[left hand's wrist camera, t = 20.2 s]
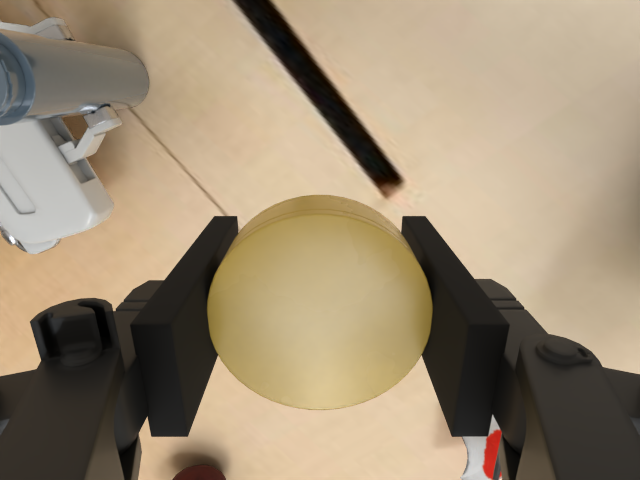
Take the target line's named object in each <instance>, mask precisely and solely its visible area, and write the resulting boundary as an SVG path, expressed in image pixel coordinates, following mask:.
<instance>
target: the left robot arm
mask: <svg viewBox="0 0 640 480" xmlns="http://www.w3.org/2000/svg"><path fill="white" fill-rule="evenodd" d="M401 234H402V235H403V236H404V238H405V239H406V241H407V242H408V244H409V246H410V248H411V250H412V251H413V253H414V255H415V257H416V259H417V261H418V262H419V264H420V266H421V268H422V270H423V272H424V274H425V276H426V278H427V281H428V284H429V287H430V290H431V295H432V302H433V312H432V321H431V330H430V335H429V339H428V342H427V344H426V347H425V349H424V351H423V353H422V357H423V360H424V363H425V365H426V368H427V371H428V373H429V376H430V379H431V381H432V384H433V387H434V389H435V392H436V395H437V398H438V400H439V403H440V406H441V408H442V411H443V414H444V416H445V419H446V422H447V424H448V427H449V430H450V433H451V435H452V437H488V435H489V430H490V425H491V420H492V415H493V416H494V418H495V420H496V422H497V424H498V426H499V428H500V430H501V432H502V433H501V438H500V443H499V448H498V453H497V457H496V462H495V467H494V473H493V480H499V476H500V472H501V474H502V480H640V374H634V373H629V372H624V371H619V370H614V369H608V368H604V367H602V365H601V363H600V361H599V360H598V359H597V358H596V356H595V355H594V354H593V353H592V352H591V351H590V350H588V349H587V348H585V347H584V346H582V345H581V344H579V343H576V342H574V341H572V340H569V339H567V338H564V337H560V336H555V335H551V334H548V333H547V332H546V331H545V330H544V329H543V328H542V327H541V325H540V324H539V323H538V322H537V321H536V320H535V319H534V318H533V317H532V316H531V314H530V313H529V312H528V311H527V310H524V307H523V306H522V304H521V303H520V302H519V301H516V298H515V297H514V296H513V294H512V293H511V292H510V291H509V290H508V289H507V288H506V287H504V286H502V285H500V284H499V283H497V282H495V281H493V280H492V279H474V278H473V277H472V275H471V274H470V273H469V272H468V270H467V269H466V268H465V266H464V265H463V264H462V263H461V261H460V260H459V259H458V258H457V256H456V255H455V254H454V252H453V251H452V250H451V249H450V247H449V246H448V245H447V243H446V242H445V241H444V240H443V238H442V237H441V236H440V234H439V233H438V232H437V231H436V229H435V228H434V227H433V225H432V224H431V223H430V222H429V220H428V219H427V218H426V217H425V216H403V218H402V231H401ZM237 235H238V221H237V216H214V217H213V219H212V220H211V221H210V223H209V224H208V225H207V226H206V228H205V229H204V230H203V232H202V233H201V234H200V235H199V237H198V238H197V239H196V240H195V242H194V243H193V244H192V246H191V247H190V248H189V249H188V251H187V252H186V253H185V255H184V256H183V257H182V258H181V260H180V261H179V262H178V264H177V265H176V266H175V267H174V269H173V270H172V271H171V272H170V274H169V275H168V276H167V278H166V279H165V280H149V281H147V282H146V283H144V284H142V285H140V286H139V287H137V288H135V289H133V290H132V291H131V293H130V294H129V295H128V296H127V297H126V298H125V299H124V302H122V303H121V304H120V305H119V306H118V307H117V308H116V311H114V312H113V309H112V304H110V303H109V302H108V301H106V300H102V299H97V298H84V299H77V300H72V301H67V302H63V303H61V304H58V305H55V306H52V307H50V308H48V309H46V310H44V311H42V312H41V313H39V314H37V315H36V316H35V317H34V318H33V319H32V320H31V321H30V324H31V327H32V330H33V334H34V337H35V341H36V344H37V347H38V351H39V354H40V358H41V362H40V364H39V366H38V368H37V369H35V370H31V371H26V372H21V373H16V374H11V375H5V376H0V480H138V475H139V468H140V461H141V453H142V451H141V443H140V438H139V431H140V429H141V427H142V425H143V424H144V422H145V420H146V418H147V416H148V421H149V426H150V431H151V437H188V434H189V432H190V429H191V426H192V424H193V421H194V418H195V416H196V413H197V410H198V408H199V405H200V402H201V400H202V397H203V394H204V391H205V389H206V386H207V383H208V381H209V378H210V375H211V373H212V370H213V367H214V365H215V362H216V359H217V356H218V353H217V352H216V350H215V347H214V345H213V342H212V340H211V337H210V332H209V324H208V315H207V299H208V294H209V290H210V286H211V283H212V281H213V278H214V275H215V273H216V271H217V269H218V268H219V266H220V264H221V262H222V260H223V258H224V257H225V255H226V253H227V251H228V249H229V247H230V246H231V244H232V242H233V240H234V239H235V237H236V236H237Z"/></svg>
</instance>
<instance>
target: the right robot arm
mask: <svg viewBox="0 0 640 480" xmlns="http://www.w3.org/2000/svg"><path fill="white" fill-rule="evenodd" d="M0 29H6V30H12V31H18V32H24V33H30V34H36V35H42V36H48V37H54V38H60V39H66V40H72V41H75V40H74V38H73V36H72V34H71V32H70V30H69V29H68V27H67V25H66V23H65V21H64V20H63V19H60V18H56V17H51V18H47V19H45V20H43V21H41V22H39V23H37V24H35V25H33V26H27V25H19V24H12V23H5V22H2V21H1V19H0ZM83 117H84V119H85V121H86V123H87V124H88V126H89V127H88V128H87V130H86V132H85V133H84V135H83V137H82V138H81V139H77V140H75V139H74V137H73V136H72V134H71V133H70V131H69V129H68V128H67V126H66V125H65V123H64V121H63V120H62V118H55V119H48V120H41V121H34V122H26V123H19V124H12V125H4V126H0V232H1V235H2V237H3V238H4V239H5V240H6V241H7V242H8V243H9V244H10V245H11V246H12V245H16V246H17V247H18V248H20V249H21V250H23V251H25V252H28V253H30V254H38V253H42V252H44V251H47V250H49V249H51V248H54V247H55V246H57V245H58V244H59V242H60V240H61V238H64V237H68V236H72V235H75V234H78V233H81V232H83V231H86V230H89V229H91V228H93V227H95V226H97V225H99V224H100V223H102V222H104V221H105V220H106V219H108V218H109V217H110V215H111V213H112V210H113V208H114V203H113V201H112V199H111V197H110V196H109V194H108V192H107V191H106V189H105V188H104V186H103V184H102V183H101V181H100V180H99V178H98V176H97V175H96V173H95V171H94V170H93V168H92V167H91V165H90V163H89V162H88V160H87V158H86V157H88V156H91V155H93V154H95V153H96V152H97V150H98V148H99V146H100V144H101V142H102V140H103V138H104V137H105V135H106V133H105V132H107V131H109V130H111V129H113V128H115V127H118V126H120V125H121V124H123V123H122V122H121V120H120V118H119V116H118V115H117V113H116V111H115V109H114V108H113V106H109V107H108V106H105V107H102V108H99V109H97V110H96V111H95V112H93V113H89V114H86V115H84V116H83Z"/></svg>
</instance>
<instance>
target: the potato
mask: <svg viewBox="0 0 640 480" xmlns="http://www.w3.org/2000/svg"><path fill="white" fill-rule="evenodd" d="M173 480H226V478H225V476H224V475H223V474H222V472H221V471H219V470H218V469H216V468H215V467H213V466H209V465H196V466H192V467H188V468H186V469H184V470H182V471H181V472H179V473H178V474H177V475H176V476H175V477H174V478H173Z"/></svg>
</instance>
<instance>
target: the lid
mask: <svg viewBox="0 0 640 480" xmlns="http://www.w3.org/2000/svg"><path fill="white" fill-rule="evenodd" d="M432 312H433V302H432V295H431V290H430V287H429V284H428V281H427V278H426V276H425V274H424V272H423V270H422V268H421V266H420V264H419V262H418V261H417V259H416V257H415V255H414V253H413V251H412V250H411V248H410V246H409V244H408V242H407V241H406V239H405V238H404V236H403V235H402V234H401V232H400V231H399V230H398V229H397V228H396V227H395V226H394V224H393V223H392V222H391V221H389V220H388V219H387V218H386V217H384V216H383V215H382V214H381V213H379V212H377V211H376V210H374V209H372V208H371V207H369V206H367V205H364V204H362V203H360V202H357V201H354V200H351V199H347V198H344V197H338V196H331V195H309V196H301V197H296V198H292V199H288V200H285V201H283V202H280V203H277V204H275V205H273V206H271V207H269V208H267V209H266V210H264V211H262V212H261V213H259V214H258V215H257V216H255V217H254V218H252V219H251V220H250V221H249V222H248V223H247V224H246V225H245V226H244V227H243V228H242V229H241V231H240V232H239V233H238V235H237V236H236V237H235V239H234V240H233V242H232V244H231V246H230V247H229V249H228V251H227V253H226V255H225V257H224V258H223V260H222V262H221V264H220V266H219V268H218V269H217V271H216V273H215V275H214V278H213V281H212V283H211V286H210V290H209V294H208V299H207V315H208V324H209V332H210V337H211V340H212V342H213V345H214V347H215V350H216V352H217V353H218V355H219V357H220V359H221V360H222V362H223V363H224V364H225V366H226V367H227V368H228V370H229V371H230V372H231V373H232V374H233V375H234V376H235V377H236V378H237V379H238V380H239V381H240V382H241V383H243V384H244V385H245V386H247V387H248V388H249V389H251V390H252V391H254V392H256V393H257V394H259V395H261V396H263V397H265V398H267V399H269V400H271V401H274V402H277V403H280V404H283V405H286V406H291V407H295V408H301V409H309V410H329V409H339V408H344V407H349V406H353V405H357V404H360V403H363V402H366V401H368V400H370V399H373V398H375V397H377V396H379V395H381V394H382V393H384V392H386V391H388V390H389V389H390V388H392V387H393V386H394V385H396V384H397V383H398V382H399V381H400V380H402V379H403V378H404V377H405V376H406V375H407V374H408V373H409V372H410V370H411V369H412V368H413V367H414V366H415V364H416V363H417V361H418V360H419V358H420V356H421V355H422V353H423V351H424V349H425V347H426V344H427V342H428V339H429V335H430V330H431V321H432Z"/></svg>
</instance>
